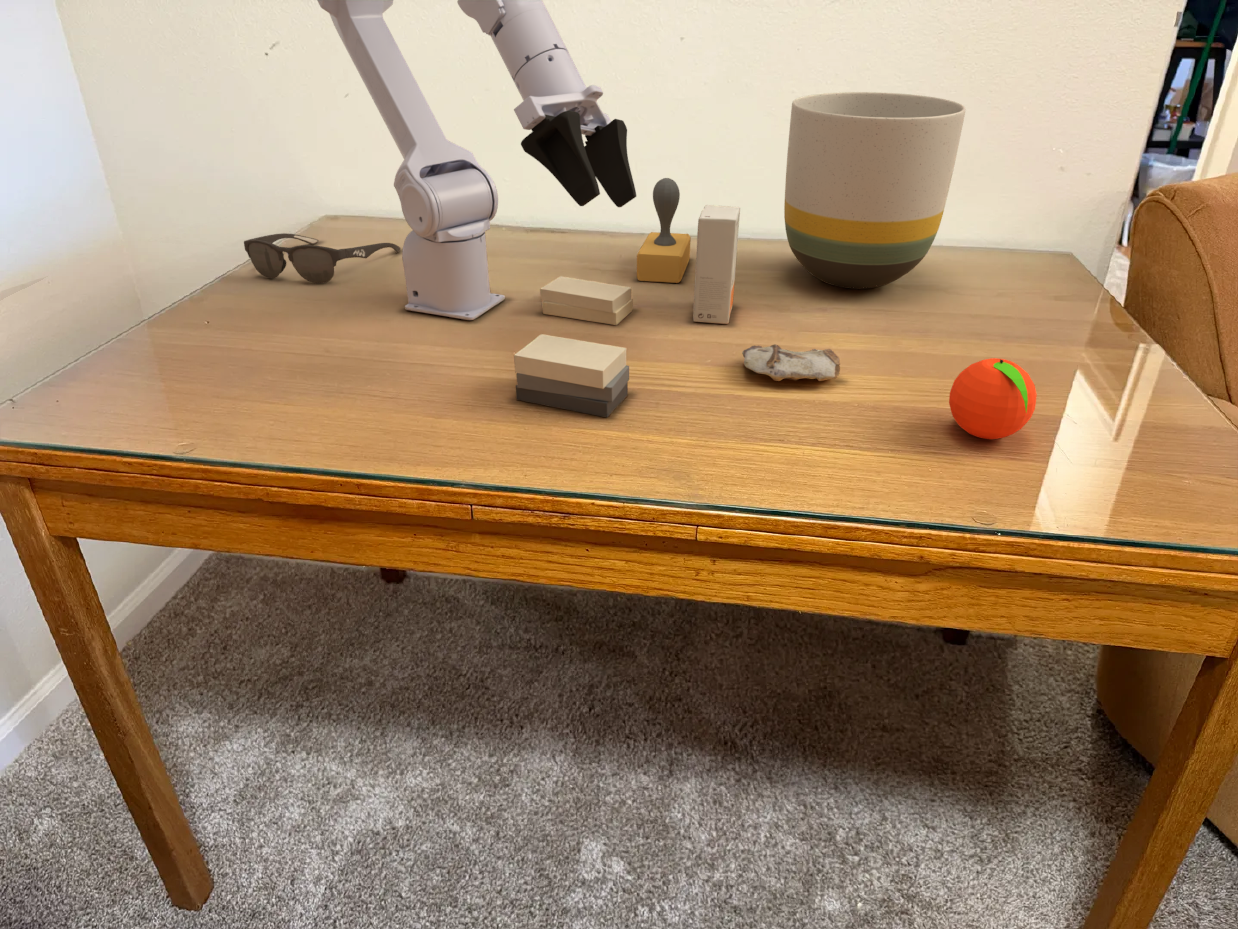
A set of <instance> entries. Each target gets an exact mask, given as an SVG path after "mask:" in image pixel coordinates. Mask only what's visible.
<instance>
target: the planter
mask: <svg viewBox="0 0 1238 929" xmlns="http://www.w3.org/2000/svg"><path fill="white" fill-rule="evenodd" d="M966 111H967V110H966V106H964V105H963V104H962V103H960V102H956V101H953V100H950V99H945V98H940V97H935V96H927V95H920V94H911V93H898V92H878V91H877V92H876V91H841V92H840V91H839V92H826V93H815V94H809V95H803V96H800V97H797V98H795V99H794V100H792V103H791V110H790V122H789V133H788V144H787V155H786V166H785V168H786V170H785V183H784V184H785V185H784V186H785V187H784V204H783V206H784V209H783V210H784V211H783V213H784V228H785V233H786V238H787V243H788V245H789V248H790V250H791V253H792V254H793V256H794V257H795V259H796V260H797V261H798V263H799V264H800V265H801V266H802V268H804V269H805V270H806V271H807V272H808V273H810V274H811V275H812V276H813V277H814V278H816V279H818V280H820V281H822V282H824V283H826V284H829V285H831V286H835V287H839V288H845V289H853V290H854V289H855V290H856V289H857V290H863V289H865V290H866V289H873V288H878V287H881V286H885V285H888V284H891V283H893V282H895V281H897V280H899V279H900V278H902V277H903V276H906V275H907V274H908V273H909V272H911V271H912V270H913V269H914V268H915V267H916V266H918V265H919V264H920V263H921V262H922V261H923V259H924V258H925V257H926V255H927V254H928V252H929V250H930V249H931V247H932V245H933V243H934V241H935V239H936V236H937V234H938V232H939V229H940V225H941V222H942V219H943V216H944V212H945V207H946V203H947V200H948V195H949V192H950V186H951V182H952V179H953V174H954V170H955V164H956V159H957V155H958V150H959V146H960V141H961V136H962V130H963V127H964V126H963V125H964V120H965V116H966Z"/></svg>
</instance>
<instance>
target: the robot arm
mask: <svg viewBox="0 0 1238 929" xmlns="http://www.w3.org/2000/svg"><path fill="white" fill-rule="evenodd" d="M316 1H317V3H318V5H319V7H320V8H321V9H322V10H324V11H325V12H327V13H328V14H329V16H330V19H331V21H332V24H333V26H334V28H335V30H336V32H337V34H338V36H339V38H340V40H341V42H342V44H343V45H344V47H345V49H346V51H347V53H348V55H349V57H350V59H351V61H352V63H353V65H354V66H355V68H356V70H357V71H358V74H359V76H360V78H361V79H362V82H363V84H364V86H365V88H366V89H367V91H368V94H369V95H370V97H371V99H372V100H373V103H374V105H375V107H376V108H377V111H378V112H379V114H380V116H381V118H382V120H383V122H384V123H385V125H386V128H387V130H388V132H389V133H390V135H391V137H392V139H393V141H394V143H395V145H396V147H397V149H398V150H399V152H400V154H401V156H402V158H403V161H402V162H401V164H400V165H399V167H398V169H397V171H396V173H395V176H394V181H393V187H394V189H395V191H396V193H397V196H398V199H399V202H400V207H401V212H402V215H403V218H404V219H405V222H406V223H407V225H408V226H409V228H410V229H411V231H409V233H408V234H407V235H406V237H405V238H404V242H403V245H402V266H403V274H404V280H405V287H406V295H407V301H408V303H407V304H405V305H404V309H405V310H406V311H410V312H411V311H412V312H417V313H422V314H428V315H429V314H431V315H435V316H442V317H449V318H453V319H461V320H467V321H474V320H476V319H477V318H479V317H481V316H482V315H483V314H485V313H486V312H487V311H489V310H491V309H492V308H494V307H495V306H497V305H498V304H500V303H502V302H503V301H504V300H505V299H506V296H505V294H500V293H492V292H491V284H490V275H489V272H490V271H489V263H488V262H489V261H488V249H487V239H486V238H487V237H486V232H487V231H489V230H491V221H492V220H493V219H494V218H495V217H496V215H497V212H498V208H499V194H498V189H497V186H496V183H495V181H494V180H493V178H492V176H491V175H490V173H489V172H488V171H487V170H486V169H485V168H483V167H482V166H481V165H480V163H479V162H478V160H477V159H476V157H475V155H474V153H473V151H471V150H469V149H467V148H465V147H462V146H461V145H458V144H456V143H454V142H453V141H450V140H448V139H447V137H446V135H445V133H444V132H443V130H442V128H441V126H440V124H439V122H438V120H437V119H436V116H435V114H434V113H433V110H432V109H431V107H430V105H429V103H428V101H427V99H426V97H425V95H424V94H423V91H422V89H421V87H420V86H419V84H418V82H417V80H416V78H415V76H414V75H413V72H412V71H411V69H410V67H409V65H408V63H407V61H406V59H405V57H404V55H403V53H402V52H401V49H400V47H399V46H398V44H397V42H396V39H395V38H394V36H393V34H392V32H391V30H390V29H389V26H388V24H387V23H386V21H385V19H384V15H383V14H384V13H386V11H387V10H388V9H390V7H392V6H393V4H394V0H316ZM457 5H458V7H459V8H460V10H461V11H462V12H463V13H464V14H465V15H466V16H467V17H469V18H471V19H473V20H474V21H476V23H477V24H478V26H479V27H480V29H481V32H482V33H484V34H485V35H488V36H490V38H491V40H492V42H493V44H494V46H495V48H496V49H497V52H498V54H499V56H500V57H501V60H502V61H503V63H504V65H505V67H506V68H507V71H508V73H509V75H510V77H511V79H512V81H513V83H514V85H515V88H516V90H517V91H518V93H519V95H520V97H521V99H522V102H521V103H519V104H518V105H517V106H516V107H515V108H514V109H513V111H514V113H515V115H516V117H517V119H518V121H519V123H520V125H521V127H522V129H523V130H526V131H530V130H531V132H530V133H529V134H528V135H527V136H525V137H524V138H523V139H522V140H521V141H520V146H521V148H522V150H523V151H524V153H525V154H528V155H529V156H531V157H532V158H533V159H535V160H536V161H537V162H538V163H540V164H541V165H542V166H543V167H544V168H545V169H546V170H548V172H550V174H551V175H552V176H553V177H554V178H555V179H556V180H557V181H558V183H559V184H560V185H561V186H562V188H563V189H564V190H565V191H566V192H567V194H568V195H569V196H570V197H571V198H572V199H573V201H574V202H575V203H576V204H577V205H578V206H579V207H584V206H586V205H587V204H588V203H590V202H592V201H593V200H594V199H595V198H597V197H598V196H600V195H601V192H600V187H599V184H600V185H601V187H602V188H603V190H604V192H605V193H606V195H607V197H608V198H609V199H610V200H611V202H612V203H613V204H614V205H615V206H616V207H617V208H622V207H624V206H626V205H627V204H628V203H629V202H632V200H634V199H635V198H637V192H636V187H635V186H636V185H635V182H634V178H633V174H632V171H631V167H630V162H629V156H628V142H627V141H628V140H627V139H628V128H627V125H626V123H625V121H624V120H622V119H618V118H614V119H612V120H611V118H610V116H609V114H607V113H605V112H604V111H603V110H602V108H601V107H600V105H599V104H598V102H597V101H598V100H599V99H600V98H601V97H602V96H603V95H604V91H603V90H602V88H601V86H598V85H595V84H591V85H589V86H586V83H585V82H584V80H583V78H582V76H581V73H580V72H579V70H578V68H577V66H576V64H575V62H574V60H573V58H572V56H571V54H570V52H569V50H568V47H567V46H566V44H565V42H564V40H563V38H562V36H561V34H560V32H559V31H558V30H559V29H558V28H557V26H556V24H555V22H554V21H553V18H552V17H551V15H550V12H549V10H548V9H547V6H546V5H545V3H544V0H457ZM583 135H584V137H585V139H586V140H585V141H584V139H583Z"/></svg>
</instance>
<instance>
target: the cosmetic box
mask: <svg viewBox="0 0 1238 929" xmlns="http://www.w3.org/2000/svg"><path fill="white" fill-rule="evenodd" d="M740 215H741V207H740V206H731V205H730V206H728V205H714V204H713V205H712V204H705V205H704V207H703V209H702V210H701V212H700V215H699V217H698V219H697V220H698V221H697V233H696V236H697V237H696V256H695V257H696V258H695V274H694V290H693V293H694V294H693V307H692V308H693V311H692V321H693V322H695V323H709V324H720V325H721V324H722V325H728V324H729V322H730V317H731V313H732V309H733V306H734V296H735V294H734V293H735V282H736V270H737V256H738V243H739V232H740V229H739V228H740Z"/></svg>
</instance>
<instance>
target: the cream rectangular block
mask: <svg viewBox="0 0 1238 929" xmlns="http://www.w3.org/2000/svg"><path fill="white" fill-rule="evenodd" d="M513 360H514V361H513V362H514V372H515V373H520V374H526V375H531V376H536V377H542V378H547V379H553V380H558V381H563V382H569V383H574V384H580V385H585V386H590V387H596V388H601V389H604V387H605V386H606V385H607V384H608V383H609V382H610V381H611V380H612V379H613V378H614V377H615V376H616V375H617V374H618V373H619V372H620V371H621V370H622V369H623V368H624V367H625V366H626V365H627V347H622V346H617V345H610V344H604V343H598V342H593V341H588V340H587V341H586V340H581V339H580V340H579V339H575V338H568V337H562V336H557V335H550V334H543V333H540V334H539V335H538V336H537V337H535V338H534V339H533V340H532V341H530V342H529V343H528V344H527V345H525V346H523V347H522V348H521V349H519V351H517V352H516V353H515V354H514V355H513Z"/></svg>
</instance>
